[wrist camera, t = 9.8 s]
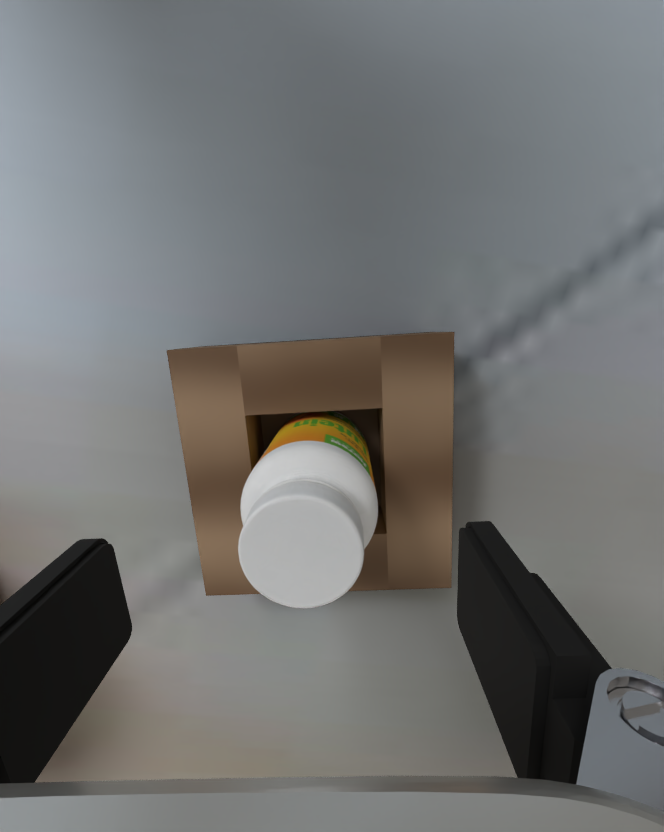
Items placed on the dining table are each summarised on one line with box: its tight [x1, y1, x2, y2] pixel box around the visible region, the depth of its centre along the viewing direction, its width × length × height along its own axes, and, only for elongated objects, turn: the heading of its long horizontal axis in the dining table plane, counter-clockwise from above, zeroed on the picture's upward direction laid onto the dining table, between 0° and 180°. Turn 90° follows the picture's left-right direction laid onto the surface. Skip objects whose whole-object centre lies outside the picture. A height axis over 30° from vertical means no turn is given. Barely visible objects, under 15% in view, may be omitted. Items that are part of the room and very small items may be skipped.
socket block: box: [167, 332, 454, 596], centre depth 20 cm, size 13×13×4 cm
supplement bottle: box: [238, 411, 378, 608], centre depth 16 cm, size 5×5×10 cm
